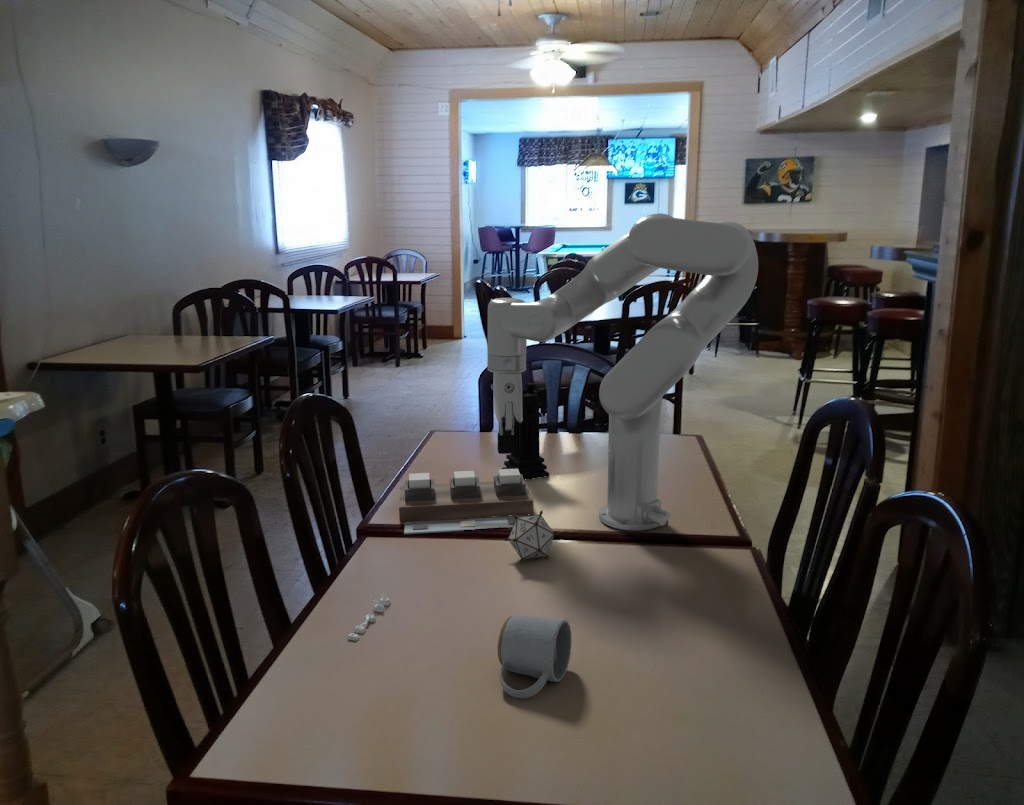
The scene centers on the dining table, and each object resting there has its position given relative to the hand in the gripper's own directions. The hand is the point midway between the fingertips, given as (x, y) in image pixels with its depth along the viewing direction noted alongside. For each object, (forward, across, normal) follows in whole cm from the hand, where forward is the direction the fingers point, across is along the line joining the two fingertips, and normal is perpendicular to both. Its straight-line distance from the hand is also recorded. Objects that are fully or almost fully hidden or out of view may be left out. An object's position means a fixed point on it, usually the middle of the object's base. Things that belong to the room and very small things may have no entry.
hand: (505, 452), depth 160 cm
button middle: (+7, 0, +8) cm, 11 cm away
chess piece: (+11, +18, -6) cm, 23 cm away
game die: (+11, -26, -2) cm, 28 cm away
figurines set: (+12, -43, +25) cm, 51 cm away
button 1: (+7, 0, +17) cm, 19 cm away
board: (+11, -3, +8) cm, 14 cm away
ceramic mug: (+11, -61, +3) cm, 62 cm away
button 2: (+7, 0, -1) cm, 7 cm away
